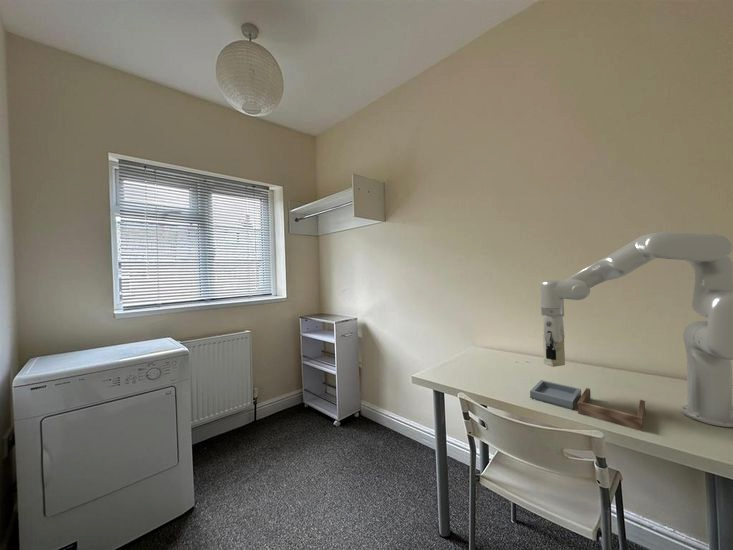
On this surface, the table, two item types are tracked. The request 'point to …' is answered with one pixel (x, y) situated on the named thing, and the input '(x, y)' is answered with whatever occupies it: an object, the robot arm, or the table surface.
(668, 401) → the table surface
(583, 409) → the frame
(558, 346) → the skincare box
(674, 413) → the table surface
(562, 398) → the tray
